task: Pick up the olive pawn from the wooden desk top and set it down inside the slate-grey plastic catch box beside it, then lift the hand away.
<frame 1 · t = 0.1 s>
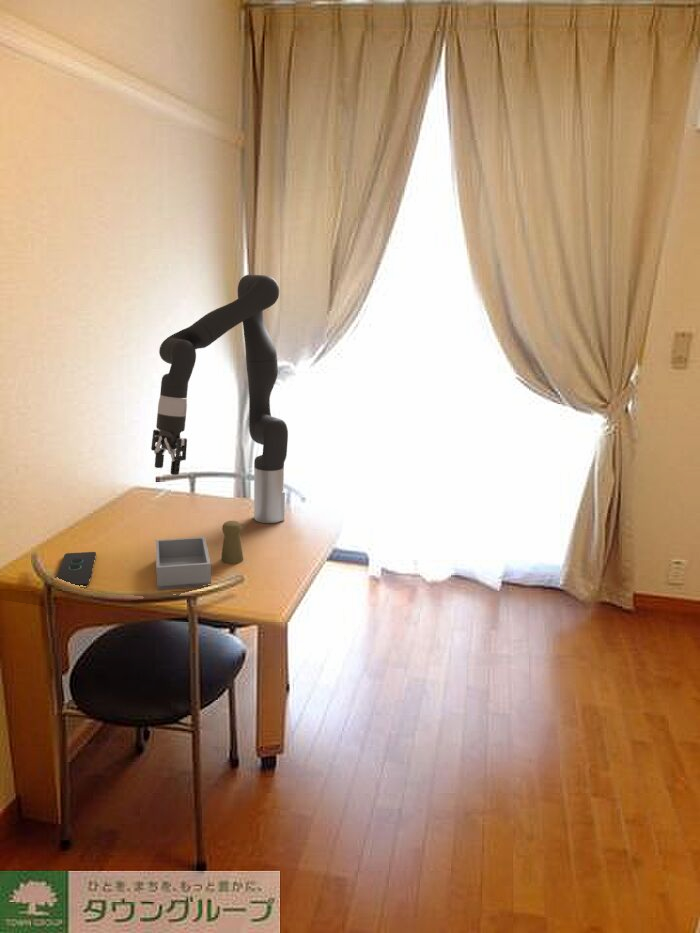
hand: (166, 471, 190), 22 cm above the table, tool pointing down, fingers open, 8 cm apart
catch box: (182, 572, 180), on the table
smart home device: (76, 573, 178), on the table
olive pawn: (232, 560, 189), on the table
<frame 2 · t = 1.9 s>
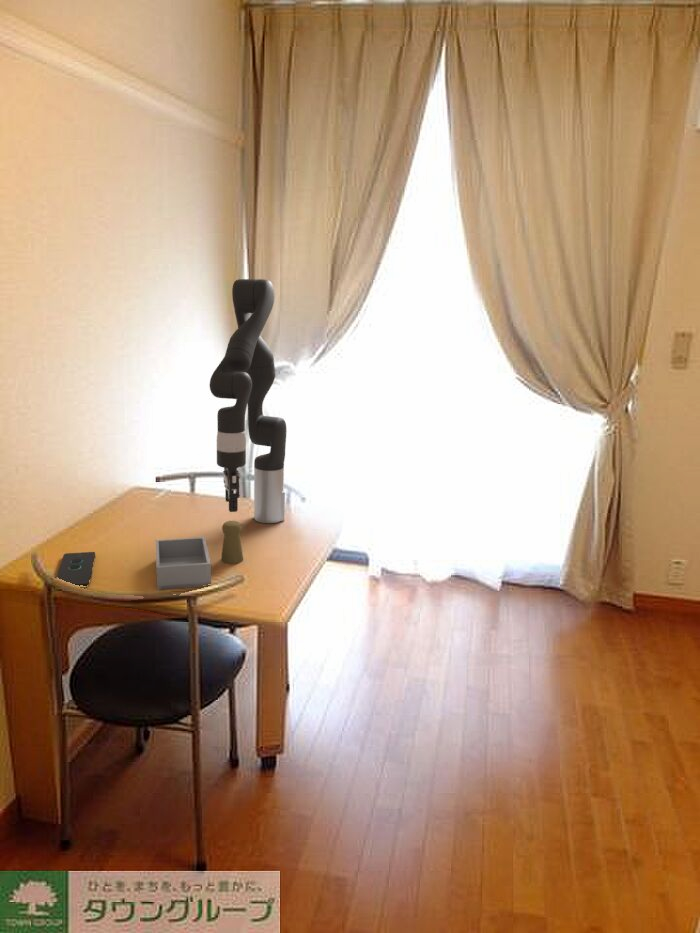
hand: (231, 506, 185), 16 cm above the table, tool pointing down, fingers open, 8 cm apart
nothing on the table moved.
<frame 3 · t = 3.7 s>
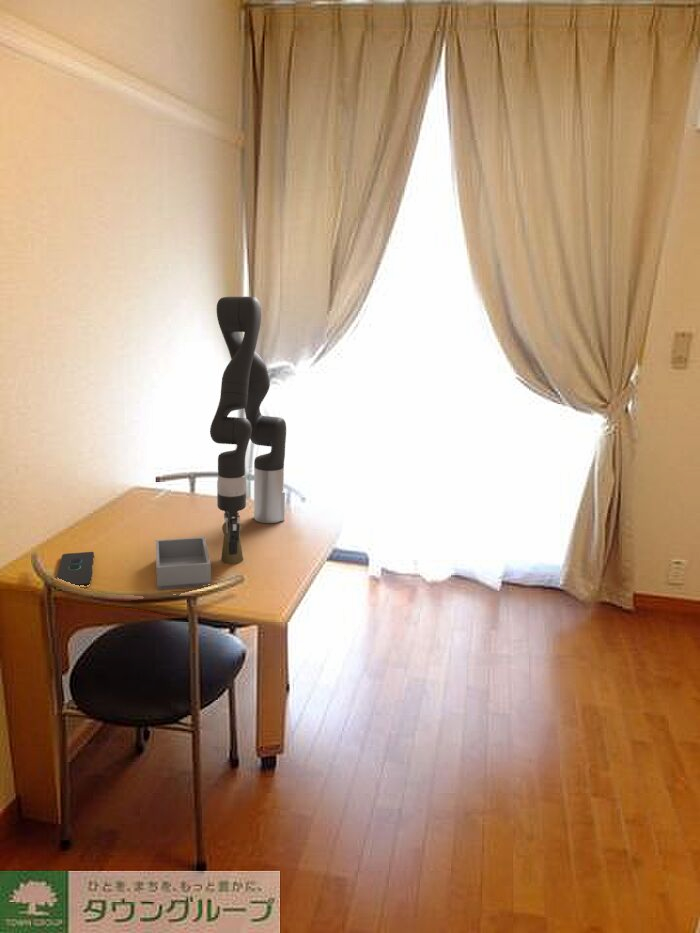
hand: (232, 550, 188), 3 cm above the table, tool pointing down, fingers closed on olive pawn, 4 cm apart
olive pawn: (232, 560, 189), on the table, touching gripper
everything else where it was.
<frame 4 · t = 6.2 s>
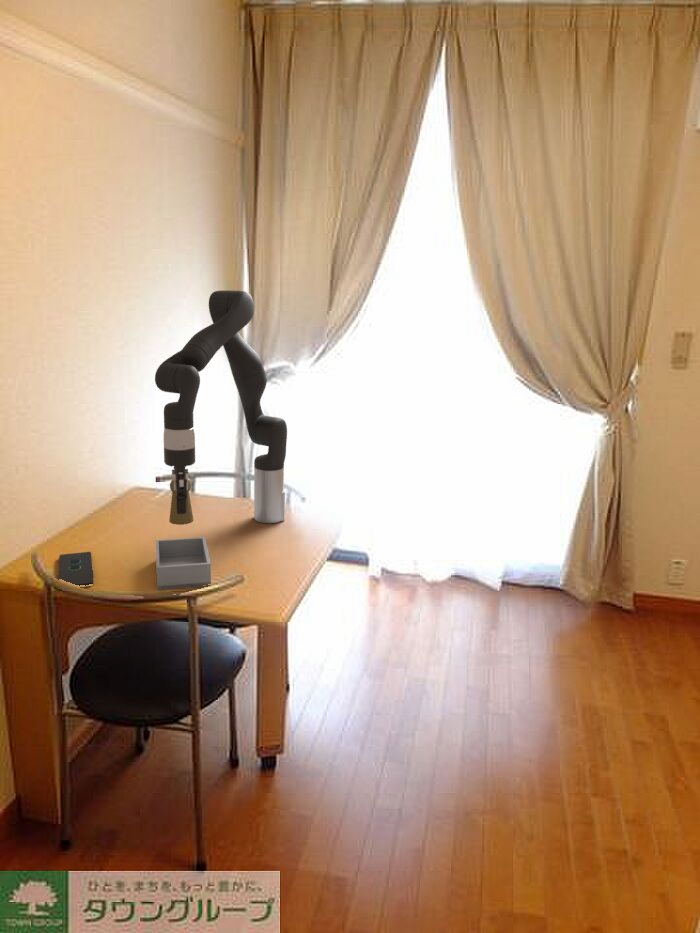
hand: (181, 510, 175), 17 cm above the table, tool pointing down, fingers closed on olive pawn, 4 cm apart
olive pawn: (181, 521, 176), point 14 cm above the table, touching gripper
everything else where it was.
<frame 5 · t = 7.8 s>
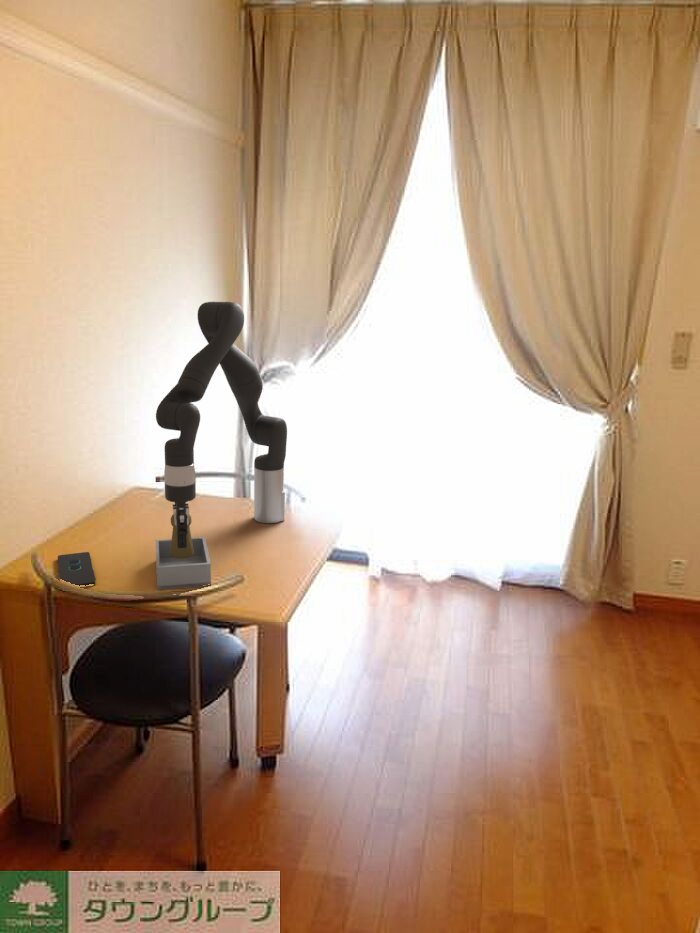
hand: (181, 543, 178), 8 cm above the table, tool pointing down, fingers closed on olive pawn, 4 cm apart
olive pawn: (182, 554, 178), point 5 cm above the table, touching gripper
when the fingers open (6 cm above the table, at t = 8.8 s): olive pawn drops 1 cm, resting on catch box.
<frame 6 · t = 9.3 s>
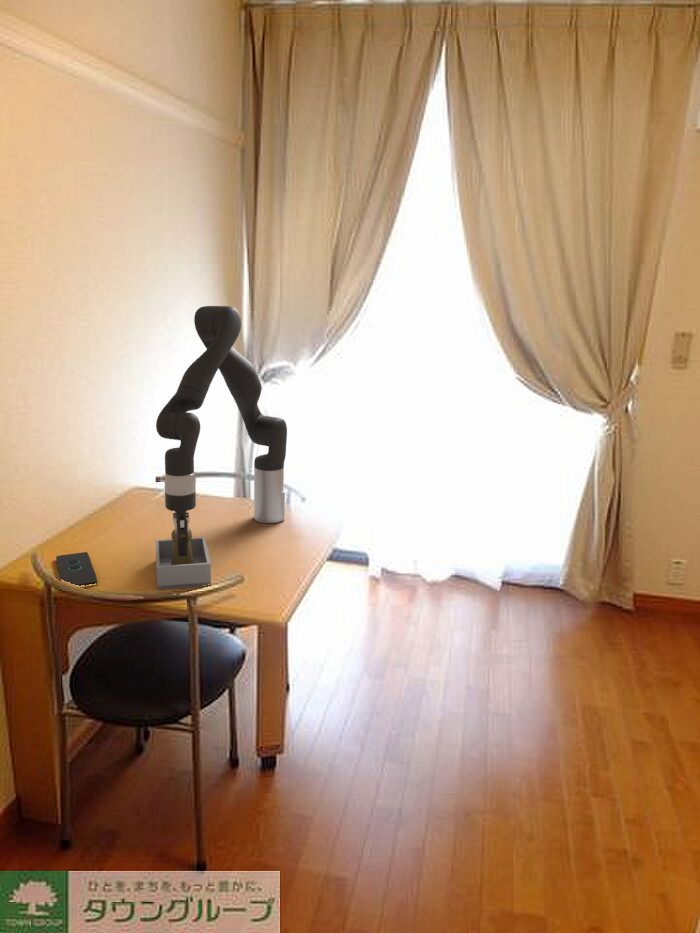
hand: (181, 549, 178), 7 cm above the table, tool pointing down, fingers open, 8 cm apart
olive pawn: (182, 569, 180), point 1 cm above the table, touching catch box
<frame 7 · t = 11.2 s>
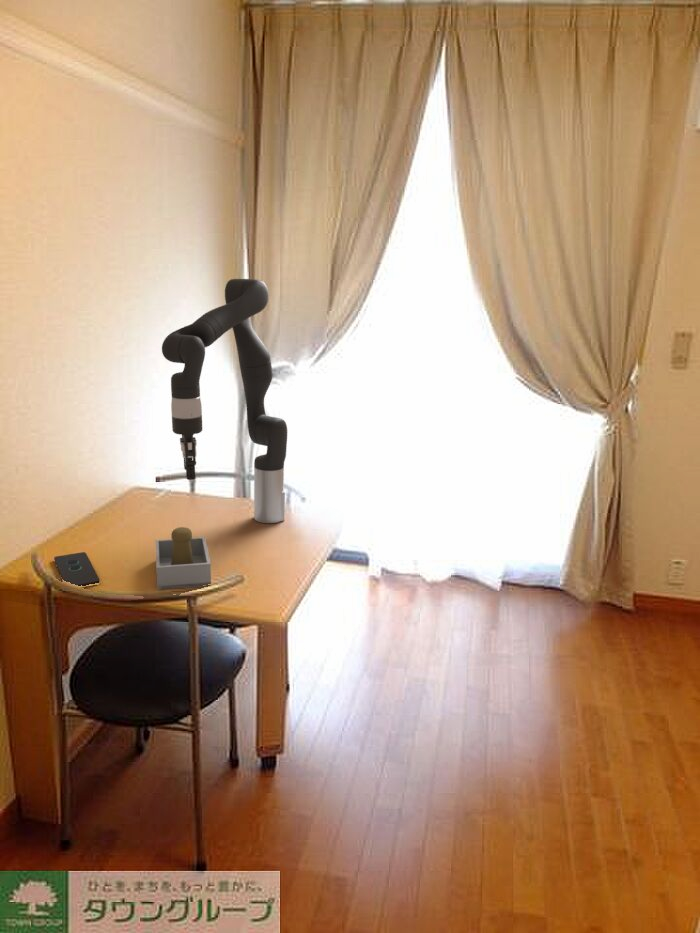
hand: (189, 474, 181), 24 cm above the table, tool pointing down, fingers open, 8 cm apart
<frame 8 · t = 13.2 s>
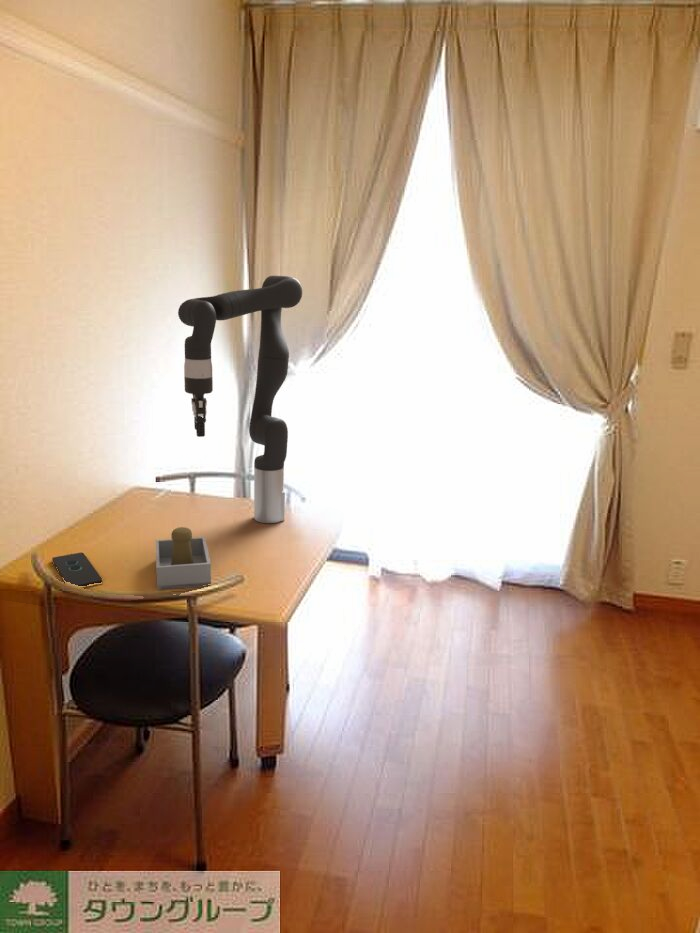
hand: (199, 432, 193), 32 cm above the table, tool pointing down, fingers open, 8 cm apart
at the end: olive pawn inside the target area on the catch box (0.6 cm from its centre), point 0.8 cm above the catch box's base; olive pawn tilted 0°; the gripper is holding nothing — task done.
